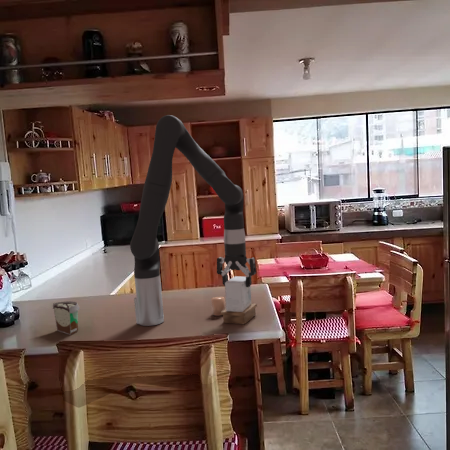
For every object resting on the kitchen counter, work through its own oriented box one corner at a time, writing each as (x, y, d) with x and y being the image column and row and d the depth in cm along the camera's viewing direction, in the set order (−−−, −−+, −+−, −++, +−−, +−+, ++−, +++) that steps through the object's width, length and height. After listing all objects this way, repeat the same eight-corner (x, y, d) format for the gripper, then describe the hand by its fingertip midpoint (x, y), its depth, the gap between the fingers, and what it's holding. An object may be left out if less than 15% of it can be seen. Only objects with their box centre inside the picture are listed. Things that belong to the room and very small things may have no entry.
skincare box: (243, 312, 168) (241, 282, 167) (226, 311, 171) (223, 282, 170) (252, 304, 178) (250, 276, 177) (236, 303, 180) (234, 275, 179)
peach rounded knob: (211, 315, 181) (209, 299, 180) (214, 312, 186) (213, 296, 185) (224, 315, 180) (222, 299, 179) (227, 312, 184) (225, 296, 184)
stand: (221, 323, 171) (221, 312, 171) (234, 313, 182) (233, 302, 182) (245, 324, 168) (244, 313, 167) (257, 314, 179) (256, 303, 178)
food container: (88, 330, 174) (85, 303, 173) (73, 335, 169) (70, 307, 168) (70, 325, 182) (67, 299, 181) (55, 330, 177) (52, 303, 176)
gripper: (257, 240, 172) (259, 284, 174) (220, 239, 178) (223, 283, 180) (249, 243, 166) (252, 289, 167) (212, 242, 171) (214, 288, 173)
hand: (237, 286), depth 174 cm, fingers open, 8 cm apart
